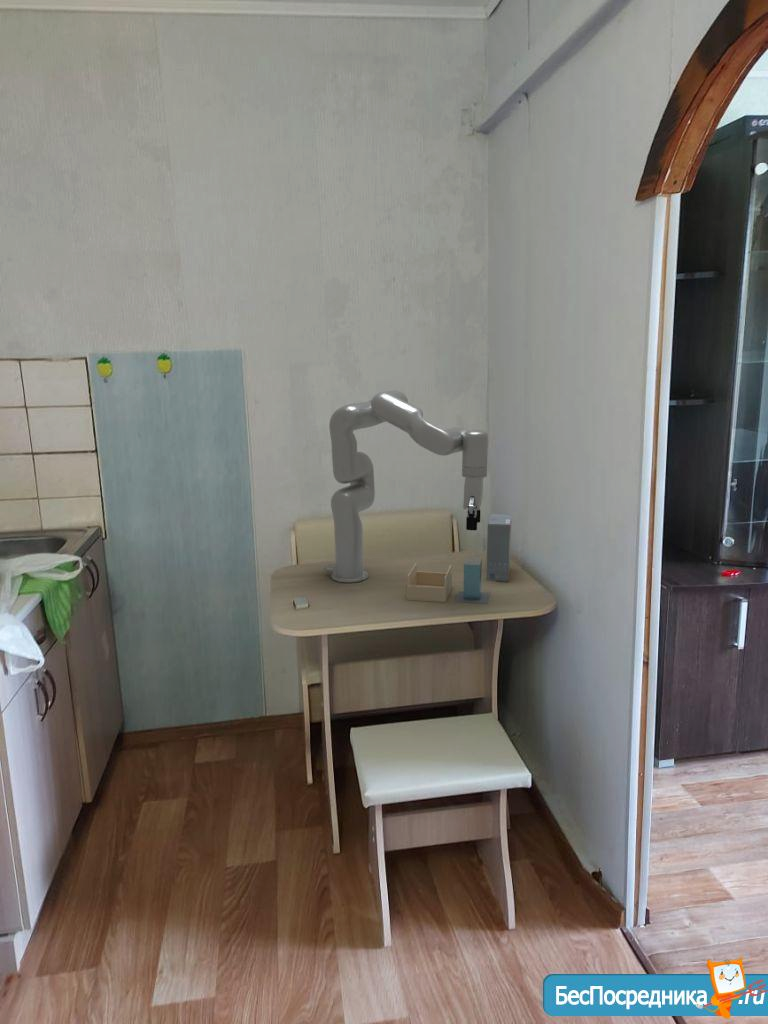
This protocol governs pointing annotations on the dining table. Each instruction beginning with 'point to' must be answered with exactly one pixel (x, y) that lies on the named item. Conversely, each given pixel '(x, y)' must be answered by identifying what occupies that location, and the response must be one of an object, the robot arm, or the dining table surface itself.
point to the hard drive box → (498, 547)
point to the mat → (483, 600)
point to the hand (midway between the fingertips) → (473, 525)
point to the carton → (428, 585)
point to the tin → (472, 578)
